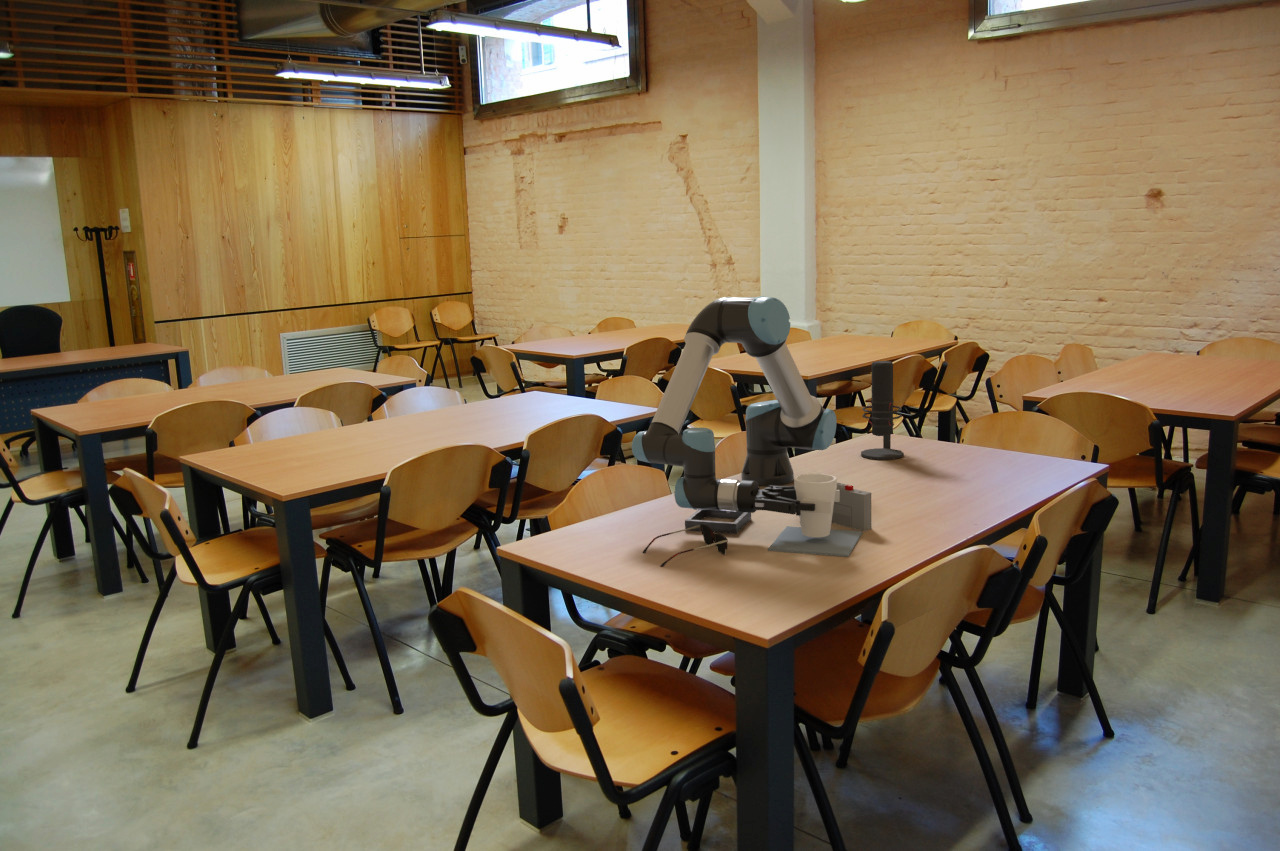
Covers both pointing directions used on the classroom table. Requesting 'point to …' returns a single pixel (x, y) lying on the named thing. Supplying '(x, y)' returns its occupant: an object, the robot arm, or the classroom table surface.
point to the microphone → (882, 411)
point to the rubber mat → (816, 542)
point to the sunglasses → (709, 538)
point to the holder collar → (715, 525)
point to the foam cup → (815, 490)
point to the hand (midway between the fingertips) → (835, 501)
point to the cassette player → (852, 508)
